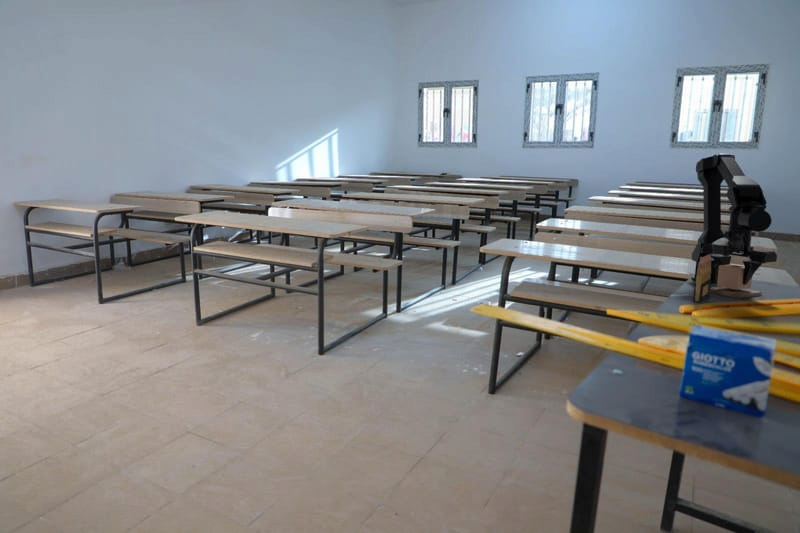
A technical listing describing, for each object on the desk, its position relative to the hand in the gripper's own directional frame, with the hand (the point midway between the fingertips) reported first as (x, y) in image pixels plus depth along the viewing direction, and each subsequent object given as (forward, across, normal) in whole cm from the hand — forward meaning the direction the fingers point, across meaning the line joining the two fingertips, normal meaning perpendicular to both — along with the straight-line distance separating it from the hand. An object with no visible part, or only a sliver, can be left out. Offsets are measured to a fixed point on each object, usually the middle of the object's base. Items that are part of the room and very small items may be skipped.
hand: (734, 282), depth 157 cm
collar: (+1, 0, 0) cm, 1 cm away
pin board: (+3, 0, 0) cm, 3 cm away
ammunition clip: (+3, +2, -16) cm, 16 cm away
